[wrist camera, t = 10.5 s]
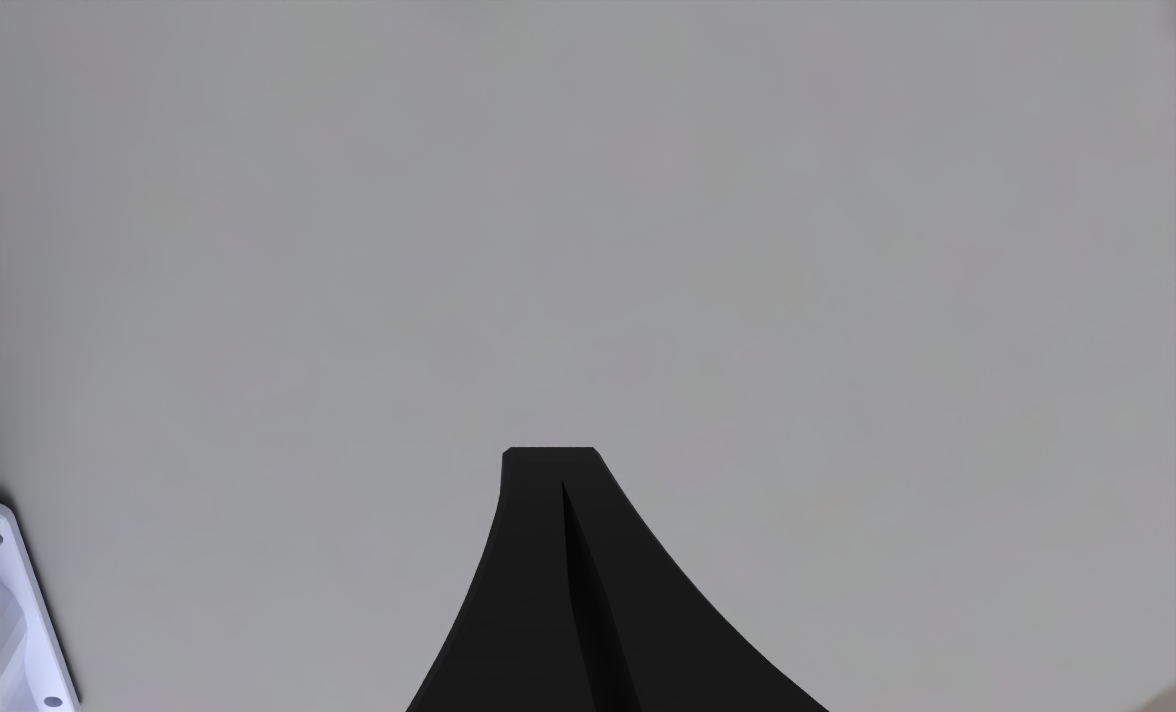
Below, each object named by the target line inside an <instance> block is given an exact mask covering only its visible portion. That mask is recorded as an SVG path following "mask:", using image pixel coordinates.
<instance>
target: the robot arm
mask: <svg viewBox="0 0 1176 712" xmlns="http://www.w3.org/2000/svg"><path fill="white" fill-rule="evenodd" d="M0 534H1V535H0V712H82V710H81V707H80V704H79V702H78V699H77V696H76V693H75V690H74V687H73V684H72V681H71V678H70V676H69V673H68V670H67V667H66V664H65V661H64V658H63V655H62V652H61V649H60V647H59V644H58V641H57V638H56V635H55V632H54V629H53V626H52V623H51V621H50V618H49V615H48V612H47V609H46V606H45V603H44V600H43V597H42V595H41V592H40V589H39V586H38V583H37V580H36V577H35V574H34V571H33V568H32V566H31V563H30V560H29V557H28V554H27V551H26V548H25V545H24V542H23V540H22V537H21V534H20V531H19V528H18V525H17V522H16V519H15V516H14V514H13V513H12V511H11V510H10V509H9V508H8V507H6V506H5V505H3V504H0ZM406 712H829V711H828V710H827V709H825V708H824V707H823V706H822V705H820V704H819V703H818V702H817V701H816V700H814V699H813V698H812V697H811V696H810V695H808V694H807V693H806V692H805V691H804V690H802V689H801V688H800V687H799V686H798V685H796V684H795V683H794V682H793V681H792V680H790V679H789V678H788V677H787V676H786V675H784V674H783V673H782V672H781V671H780V670H778V669H777V668H776V667H775V666H774V665H772V664H771V663H770V662H769V661H768V660H767V659H766V658H765V657H764V656H763V655H762V654H761V653H760V652H758V651H757V650H756V649H755V648H754V647H753V646H752V645H751V644H750V643H749V642H748V641H747V640H746V639H745V638H744V637H743V636H742V635H741V634H740V633H739V632H738V631H737V630H736V629H735V628H734V627H733V626H732V625H731V624H730V623H729V622H728V621H727V620H726V619H725V618H724V617H723V616H722V615H721V614H720V613H719V612H718V611H717V610H716V609H715V608H714V606H713V605H712V604H711V603H710V602H709V601H708V600H707V599H706V598H705V597H704V595H703V594H702V593H701V592H700V591H699V590H698V589H697V587H696V586H695V585H694V584H693V583H692V582H691V580H690V579H689V578H688V577H687V576H686V575H685V573H684V572H683V571H682V570H681V569H680V568H679V566H678V565H677V564H676V563H675V561H674V560H673V559H672V558H671V556H670V555H669V554H668V553H667V551H666V550H665V549H664V547H663V546H662V545H661V543H660V542H659V541H658V539H657V538H656V537H655V536H654V534H653V533H652V532H651V530H650V529H649V528H648V526H647V525H646V524H645V522H644V521H643V519H642V518H641V517H640V515H639V514H638V513H637V511H636V510H635V508H634V507H633V505H632V504H631V502H630V501H629V499H628V498H627V497H626V495H625V494H624V492H623V491H622V489H621V488H620V486H619V485H618V483H617V481H616V480H615V478H614V477H613V475H612V474H611V472H610V470H609V469H608V467H607V466H606V464H605V462H604V461H603V459H602V457H601V456H600V454H599V453H598V452H597V451H596V450H595V449H594V448H593V447H511V448H509V449H508V450H507V451H505V452H504V453H503V456H502V471H501V486H500V496H499V501H498V505H497V510H496V513H495V517H494V520H493V523H492V526H491V530H490V533H489V536H488V540H487V543H486V546H485V549H484V552H483V555H482V557H481V560H480V563H479V565H478V568H477V570H476V573H475V575H474V578H473V580H472V583H471V585H470V588H469V590H468V593H467V595H466V598H465V600H464V602H463V604H462V607H461V609H460V611H459V613H458V616H457V618H456V620H455V622H454V624H453V626H452V628H451V630H450V632H449V634H448V636H447V638H446V640H445V642H444V644H443V646H442V648H441V650H440V652H439V654H438V656H437V658H436V660H435V661H434V663H433V665H432V667H431V668H430V670H429V672H428V674H427V676H426V677H425V679H424V681H423V683H422V685H421V686H420V688H419V690H418V692H417V694H416V695H415V697H414V699H413V700H412V702H411V704H410V705H409V707H408V709H407V710H406Z"/></svg>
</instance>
